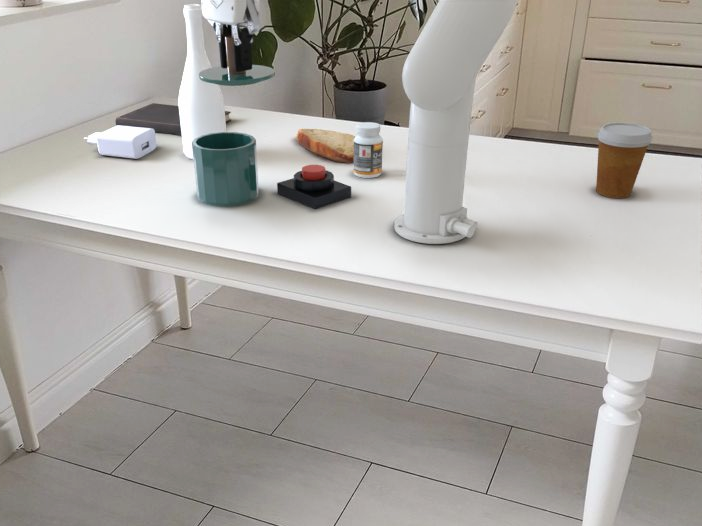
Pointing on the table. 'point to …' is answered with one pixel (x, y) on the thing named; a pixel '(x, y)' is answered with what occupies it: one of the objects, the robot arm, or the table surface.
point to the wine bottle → (198, 87)
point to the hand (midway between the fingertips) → (236, 67)
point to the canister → (225, 168)
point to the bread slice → (328, 144)
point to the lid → (230, 75)
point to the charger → (124, 141)
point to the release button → (313, 172)
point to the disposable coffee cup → (620, 157)
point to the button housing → (314, 190)
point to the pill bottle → (368, 150)
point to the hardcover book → (156, 118)
